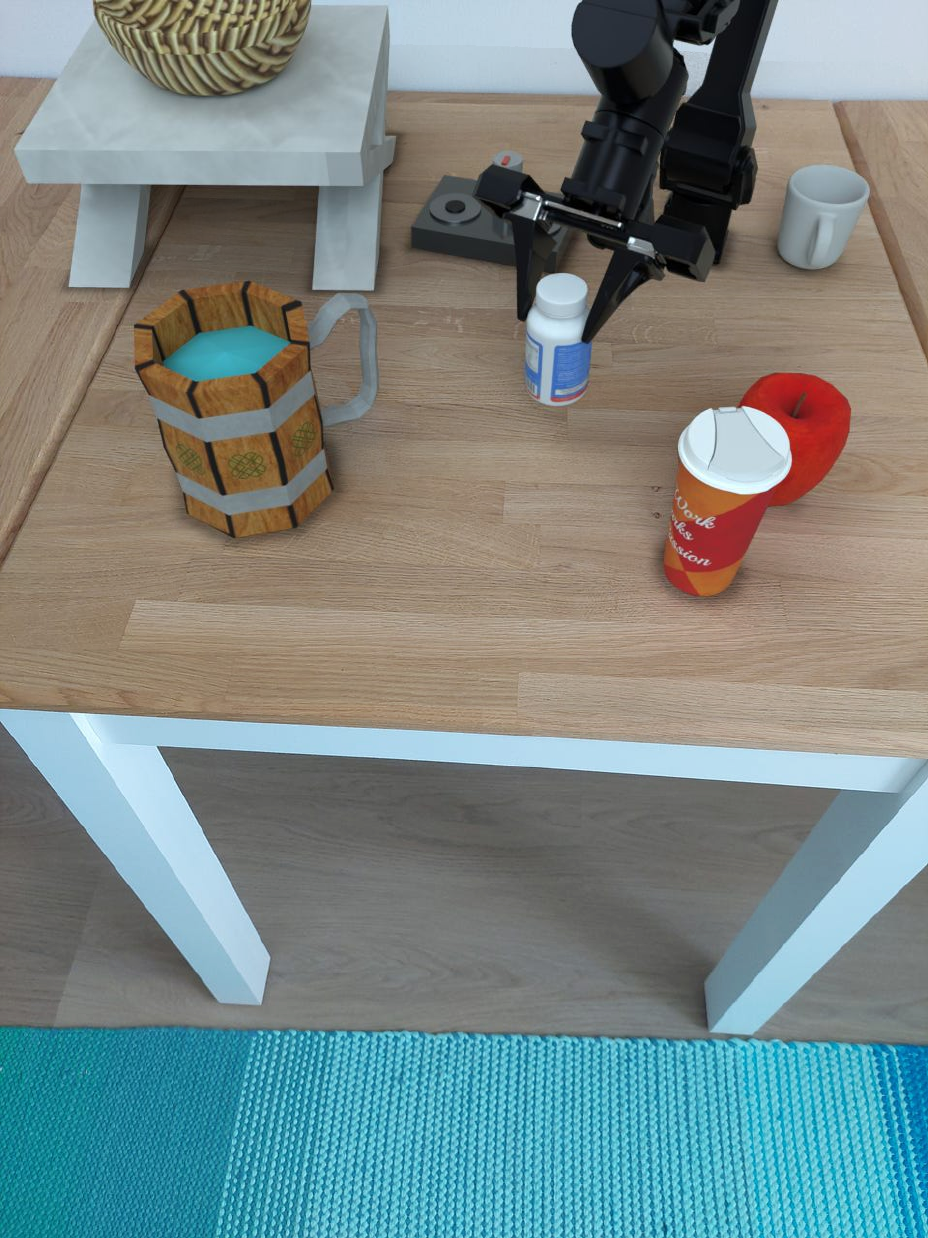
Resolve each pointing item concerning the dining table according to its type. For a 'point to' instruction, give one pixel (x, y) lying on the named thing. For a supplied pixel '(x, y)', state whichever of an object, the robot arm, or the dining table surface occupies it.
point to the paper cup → (722, 494)
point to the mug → (247, 400)
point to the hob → (476, 231)
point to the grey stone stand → (219, 122)
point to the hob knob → (509, 160)
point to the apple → (803, 426)
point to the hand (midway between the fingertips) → (552, 331)
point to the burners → (462, 210)
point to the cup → (820, 214)
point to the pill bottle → (557, 341)
